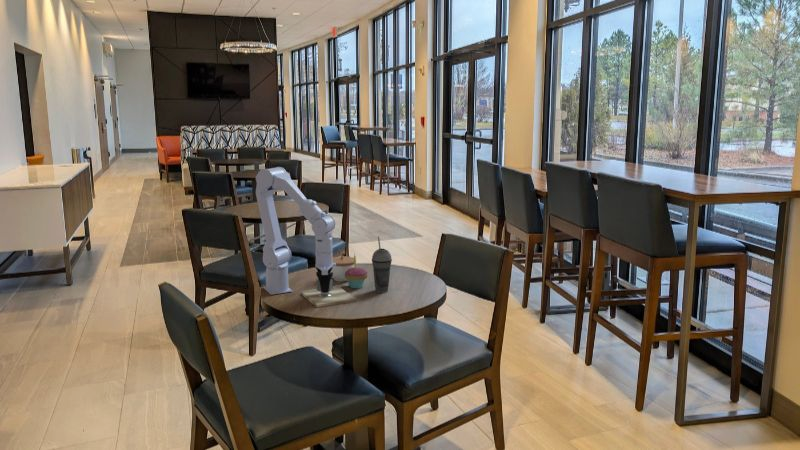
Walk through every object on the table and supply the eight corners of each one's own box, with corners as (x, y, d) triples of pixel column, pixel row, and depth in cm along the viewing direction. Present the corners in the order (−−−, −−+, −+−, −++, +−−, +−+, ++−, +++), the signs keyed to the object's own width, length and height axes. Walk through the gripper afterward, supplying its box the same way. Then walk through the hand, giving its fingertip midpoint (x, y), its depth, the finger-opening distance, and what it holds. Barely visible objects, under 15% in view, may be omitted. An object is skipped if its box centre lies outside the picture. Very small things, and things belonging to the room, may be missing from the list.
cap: (315, 288, 205) (315, 278, 204) (331, 287, 206) (331, 276, 206) (317, 292, 201) (317, 281, 200) (333, 291, 202) (333, 280, 201)
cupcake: (342, 284, 220) (341, 253, 217) (363, 282, 222) (363, 251, 220) (348, 291, 212) (348, 258, 209) (370, 288, 215) (370, 256, 212)
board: (301, 294, 208) (301, 291, 208) (338, 288, 214) (338, 286, 214) (317, 307, 194) (317, 304, 194) (356, 301, 200) (356, 298, 200)
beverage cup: (389, 294, 208) (389, 239, 204) (369, 293, 209) (369, 238, 205) (393, 288, 215) (394, 235, 211) (374, 287, 216) (374, 234, 212)
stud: (316, 294, 205) (316, 289, 204) (328, 292, 207) (328, 288, 206) (321, 297, 201) (321, 293, 201) (333, 295, 203) (333, 291, 203)
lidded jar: (354, 283, 221) (354, 259, 219) (326, 283, 221) (325, 258, 219) (357, 275, 231) (357, 252, 229) (330, 275, 231) (329, 252, 230)
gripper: (336, 256, 194) (337, 295, 197) (335, 246, 208) (335, 282, 211) (315, 256, 193) (315, 296, 196) (315, 246, 207) (315, 283, 210)
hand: (324, 289), depth 203 cm, fingers closed on cap, 5 cm apart
